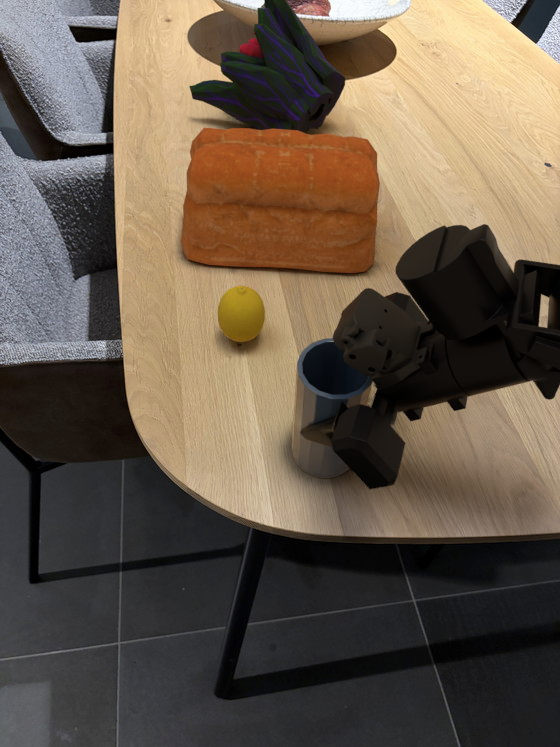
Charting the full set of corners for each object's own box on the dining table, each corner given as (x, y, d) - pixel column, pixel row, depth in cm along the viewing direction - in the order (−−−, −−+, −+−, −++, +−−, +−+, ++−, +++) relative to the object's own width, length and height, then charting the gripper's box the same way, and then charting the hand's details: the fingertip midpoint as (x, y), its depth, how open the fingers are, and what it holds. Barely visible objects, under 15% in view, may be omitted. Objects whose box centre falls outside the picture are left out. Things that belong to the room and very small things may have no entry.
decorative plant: (270, 199, 109) (165, 97, 115) (373, 110, 112) (266, 16, 118) (259, 127, 89) (133, 9, 95) (385, 22, 92) (255, -86, 98)
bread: (375, 278, 82) (398, 180, 71) (178, 266, 81) (169, 165, 70) (368, 218, 91) (387, 122, 80) (191, 207, 90) (185, 108, 79)
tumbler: (363, 434, 64) (383, 350, 53) (345, 487, 61) (363, 408, 50) (303, 415, 66) (311, 329, 55) (283, 466, 62) (286, 385, 51)
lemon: (269, 350, 72) (272, 301, 66) (224, 359, 71) (223, 309, 65) (256, 319, 76) (258, 269, 70) (213, 326, 74) (211, 276, 68)
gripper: (431, 218, 50) (293, 283, 60) (384, 376, 38) (222, 424, 49) (492, 312, 55) (355, 358, 65) (467, 479, 43) (305, 503, 53)
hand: (314, 403), depth 58 cm, fingers closed on tumbler, 7 cm apart
